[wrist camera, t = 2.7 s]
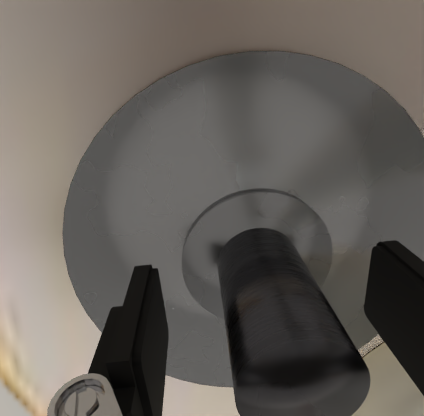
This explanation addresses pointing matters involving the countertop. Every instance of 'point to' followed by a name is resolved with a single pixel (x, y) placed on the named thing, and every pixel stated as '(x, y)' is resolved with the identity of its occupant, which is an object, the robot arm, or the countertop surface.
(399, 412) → the pot
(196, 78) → the lid
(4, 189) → the countertop surface
